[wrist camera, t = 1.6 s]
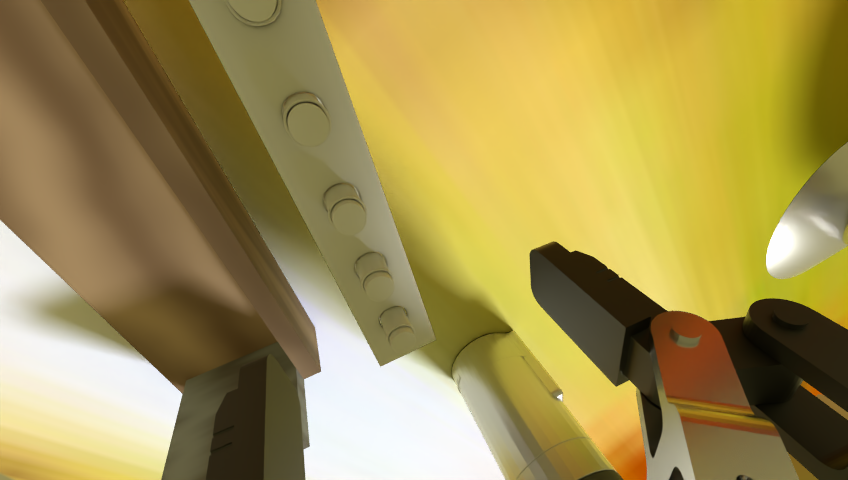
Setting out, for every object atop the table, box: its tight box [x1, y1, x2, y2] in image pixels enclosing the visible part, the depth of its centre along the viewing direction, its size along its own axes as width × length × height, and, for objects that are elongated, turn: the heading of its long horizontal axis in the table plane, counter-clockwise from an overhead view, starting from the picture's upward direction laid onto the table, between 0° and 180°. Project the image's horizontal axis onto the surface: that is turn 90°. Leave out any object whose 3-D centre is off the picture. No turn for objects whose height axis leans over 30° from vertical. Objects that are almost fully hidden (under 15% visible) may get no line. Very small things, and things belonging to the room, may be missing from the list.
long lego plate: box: [189, 0, 436, 366], centre depth 22 cm, size 25×4×13 cm, turn 15°
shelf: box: [0, 0, 321, 480], centre depth 21 cm, size 12×31×12 cm, turn 14°
